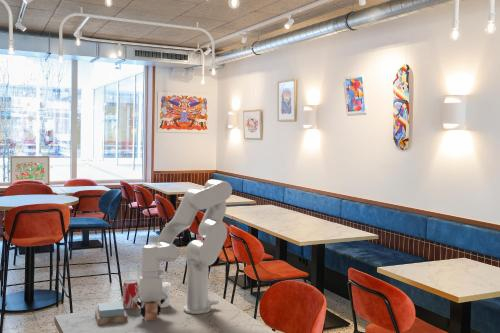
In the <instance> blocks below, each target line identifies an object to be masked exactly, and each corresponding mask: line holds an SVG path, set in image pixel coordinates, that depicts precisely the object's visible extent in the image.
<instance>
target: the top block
mask: <svg viewBox="0 0 500 333" xmlns="http://www.w3.org/2000/svg"><path fill="white" fill-rule="evenodd" d="M97 310H98V313H99V317H100V318H104V317H115V316H124V310H125V307H123V301H111V302H100V303H97Z"/></svg>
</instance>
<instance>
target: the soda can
mask: <svg viewBox="0 0 500 333" xmlns="http://www.w3.org/2000/svg"><path fill="white" fill-rule="evenodd" d="M138 287H139V282H138V280H136V279H126V280H124V283H123V284H122V304H123V307H124V309H127V310H132V309H136V308H137V307H139V305H138V304H137V303H135V302H134V301H133V298H134V297H135V296H136V295H137V293H138ZM137 300H138V301H139V298H138V299H137Z"/></svg>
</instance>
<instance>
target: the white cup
mask: <svg viewBox="0 0 500 333" xmlns="http://www.w3.org/2000/svg"><path fill="white" fill-rule="evenodd" d="M171 285H172V283H171V282H167V281H166V282H165V281H162V286H163V291H164V292H165V293H166V294H167V295H168V298H167V299H166V300H165V301H164V303H163V304H162V305H161V308H162V309H163V308H167V307H169V306H170V300H171V289H172V288H171ZM163 297H164V296H163ZM160 300H161V299H160ZM156 302H157V301H156Z"/></svg>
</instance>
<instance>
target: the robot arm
mask: <svg viewBox="0 0 500 333" xmlns="http://www.w3.org/2000/svg"><path fill="white" fill-rule="evenodd" d="M232 193H233V187H232V185H231V184H230V182H228V181H226V180H220V179H209V180H206V182H205V184H204V187H203V189H197V188H189V189H188V190H187V191H186V192H185V193H184V195H183V196H182V199H181V201H180V202H179V204H178V205H179V206H178V207H177V209H176V211H175V213H174V215H173V217H172V218H171V220H170V221H169V222H168V223H167V224H165V226H164V227H163V228H162V230H161V231H160V233H159V234H158V235H159V236H158V237H157V239H156V242H155V244H153V243H152V244H145V245H143V246H142V247H141V276H140V277H139V281H138V293H137V295H136V296H135V297H134V298H133V301H134V302H135V303H137V304H138V307H140V311H139V312H140V315H141V316H142V318H144V317H145V308H144V304H145V301H153V300H156V301H157V303H158V309H157V316H160V313H161V312H162V311H161V310H162V309H161V305H162V304H163V303H164V301H165V300H166V299H167V298H168V295H167V294H166V293H165V292H164V291H163V286H162V282H163V281H162V280H163V279H162V276H161V274H163V273H164V270H162V269H161V266H160V265H161V262H162V263H165V262H166V263H170V262H171V263H172V262H174V261H176V260H177V259H178V258H179V256H180V250H179V248H178V246H176V245H174V244H173V243H174V241H175V239H176V237H177V236H178V235H179V234H181V233H182V232H183V231H185V230H187V229H189V228H190V227H191V226H192V224H193V222H194V220H195V217H196V215H197V213H198V211H199V210H200V211H201V210H205V213H204V215H203V217H202V219H201V222H200V223H199V225H198V228H197V231H198V236H200V237H201V238H203V239H204V240H199V239H194V240H191V241H190V242H188V244H187V245H186V249H185V257H186V258H185V259H186V264H187V266H186V267H187V268H186V270H187V272H186V277H187V279H186V280H187V281H186V282H187V284H186V304H185V305H184V306H183V311H184V312H185V313H188V314H192V315H193V314H194V315H201V314H202V315H203V314H206V313H209V312H211V311H212V305H214V306H215V305H216V306H217V305H219V300H218V299H210V298H209V267H210V266H211V265H213V264H214V263H215V262H216V261H217V260H218V257H219V255H220V253H221V251H222V248H223V246H224V244H225V241H226V240H227V237H228V228H227V226H226V224H225V223H223V219H224V217H225V214H226V211H227V202H226V200H228V199H229V198H230V197H231V196H232ZM163 296H164V297H163ZM137 299H138V300H137ZM160 299H161V300H160ZM139 300H140V301H139Z"/></svg>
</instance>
